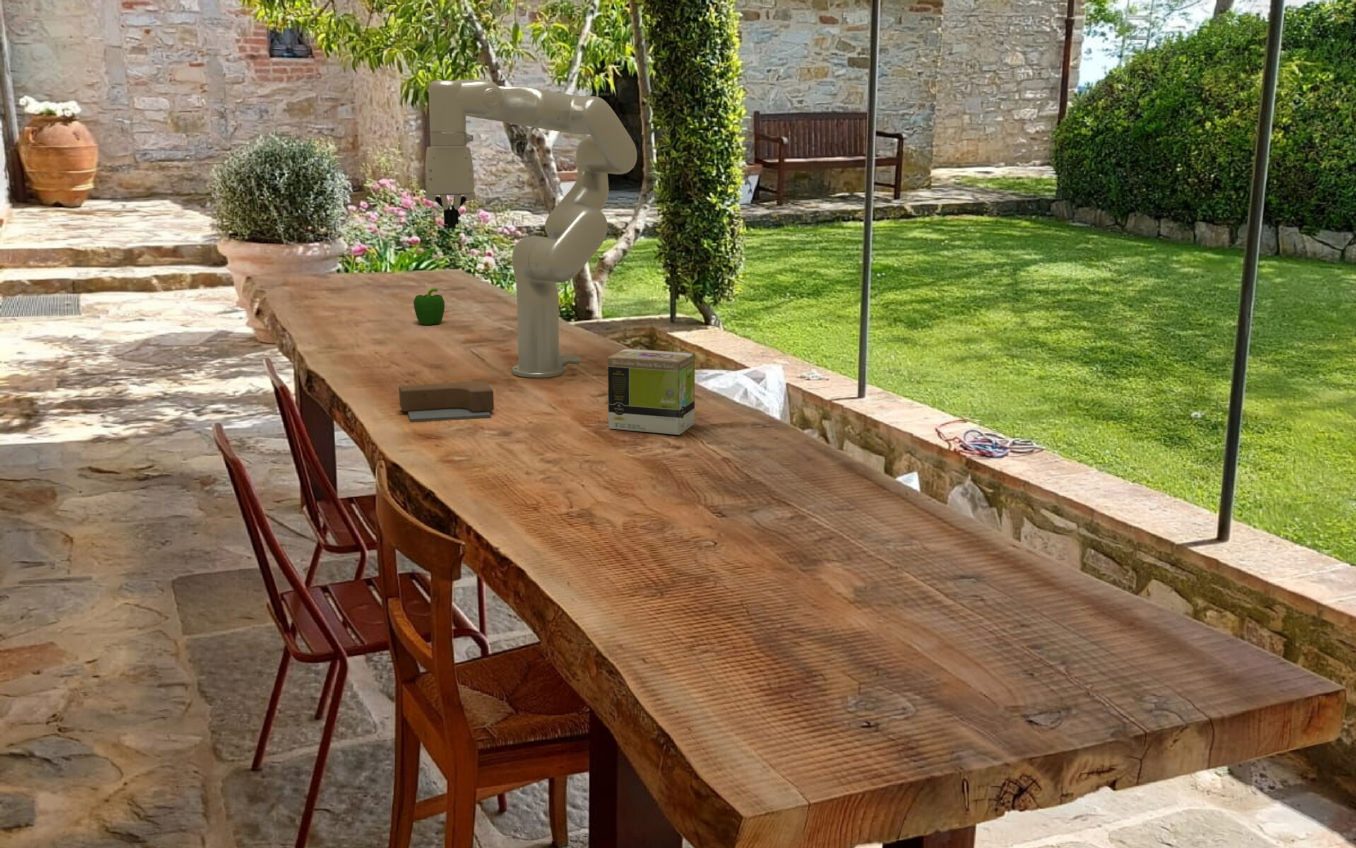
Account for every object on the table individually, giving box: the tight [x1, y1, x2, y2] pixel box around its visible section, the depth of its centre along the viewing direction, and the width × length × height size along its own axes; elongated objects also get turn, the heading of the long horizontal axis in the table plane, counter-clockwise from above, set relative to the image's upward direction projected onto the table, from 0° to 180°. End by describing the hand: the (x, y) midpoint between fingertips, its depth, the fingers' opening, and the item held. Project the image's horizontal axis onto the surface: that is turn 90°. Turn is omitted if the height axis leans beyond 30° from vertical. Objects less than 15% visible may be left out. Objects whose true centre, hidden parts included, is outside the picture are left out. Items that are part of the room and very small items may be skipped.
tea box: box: [607, 348, 696, 436], centre depth 253 cm, size 15×10×15 cm, turn 71°
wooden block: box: [398, 380, 495, 412], centre depth 264 cm, size 9×4×18 cm
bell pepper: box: [413, 287, 446, 326], centre depth 358 cm, size 8×8×10 cm
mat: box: [407, 408, 492, 423], centre depth 265 cm, size 16×14×1 cm
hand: (451, 227), depth 277 cm, fingers closed
